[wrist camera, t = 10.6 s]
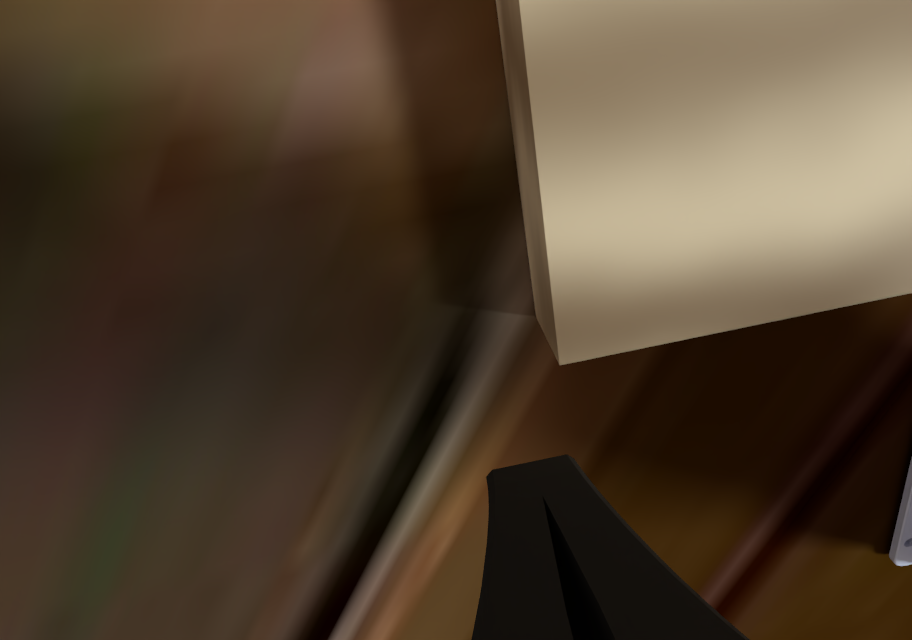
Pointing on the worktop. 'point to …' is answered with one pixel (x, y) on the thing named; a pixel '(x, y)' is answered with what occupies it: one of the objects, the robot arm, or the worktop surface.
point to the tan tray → (707, 162)
